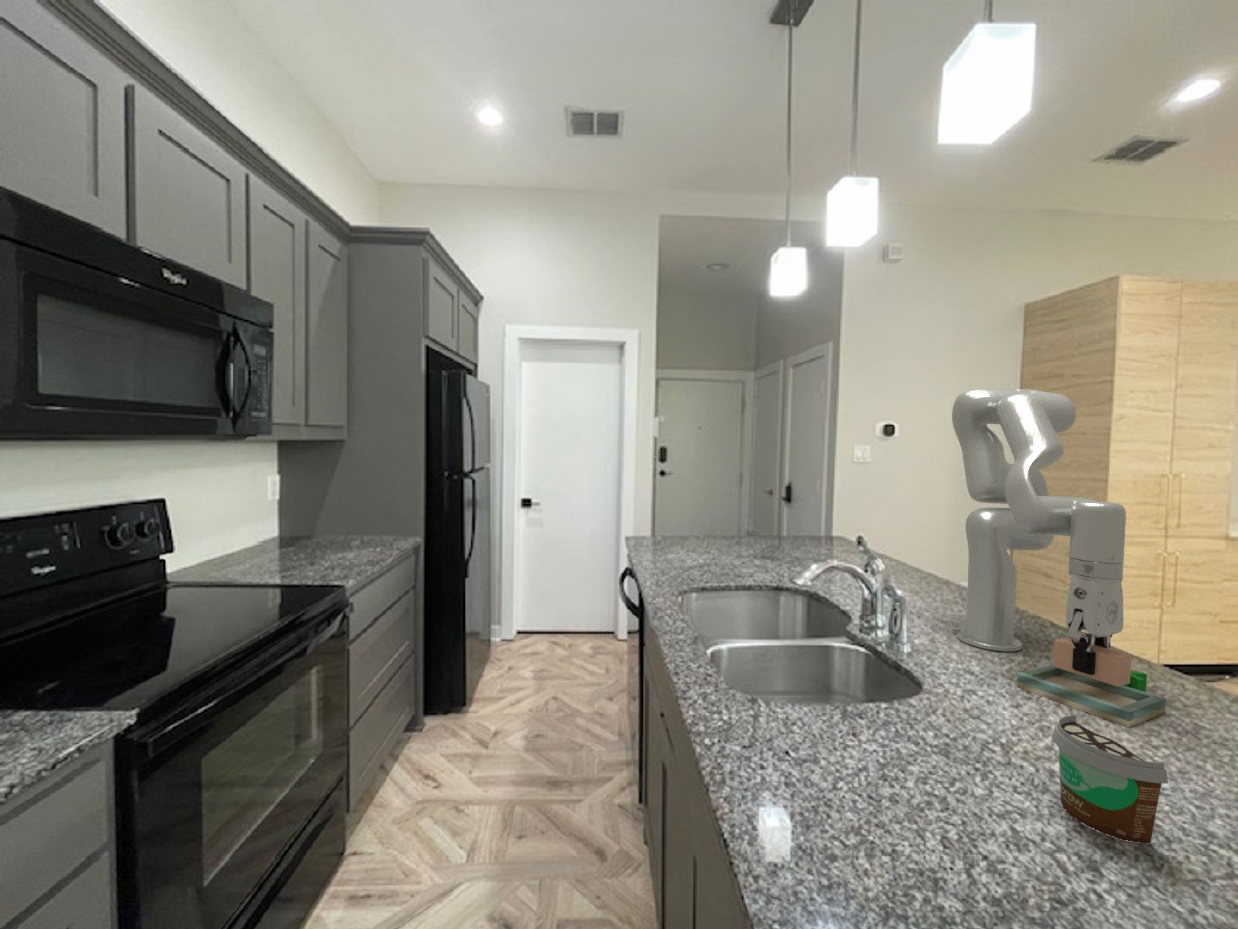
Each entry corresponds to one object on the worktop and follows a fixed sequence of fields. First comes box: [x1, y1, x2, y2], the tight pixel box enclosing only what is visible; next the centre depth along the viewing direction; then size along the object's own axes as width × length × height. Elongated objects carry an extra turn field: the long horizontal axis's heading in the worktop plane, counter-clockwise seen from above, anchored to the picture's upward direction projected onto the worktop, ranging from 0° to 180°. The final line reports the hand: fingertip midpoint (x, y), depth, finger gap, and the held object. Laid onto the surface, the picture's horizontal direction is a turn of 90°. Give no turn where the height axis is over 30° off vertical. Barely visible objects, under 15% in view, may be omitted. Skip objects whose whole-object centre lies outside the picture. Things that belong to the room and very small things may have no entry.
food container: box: [1051, 714, 1169, 844], centre depth 69 cm, size 12×6×10 cm, turn 5°
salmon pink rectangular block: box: [1052, 636, 1132, 687], centre depth 103 cm, size 4×10×5 cm, turn 27°
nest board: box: [1016, 663, 1167, 728], centre depth 104 cm, size 17×13×2 cm
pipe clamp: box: [1124, 669, 1148, 693], centre depth 108 cm, size 11×4×5 cm, turn 174°
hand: (1090, 669), depth 103 cm, fingers closed on salmon pink rectangular block, 4 cm apart
